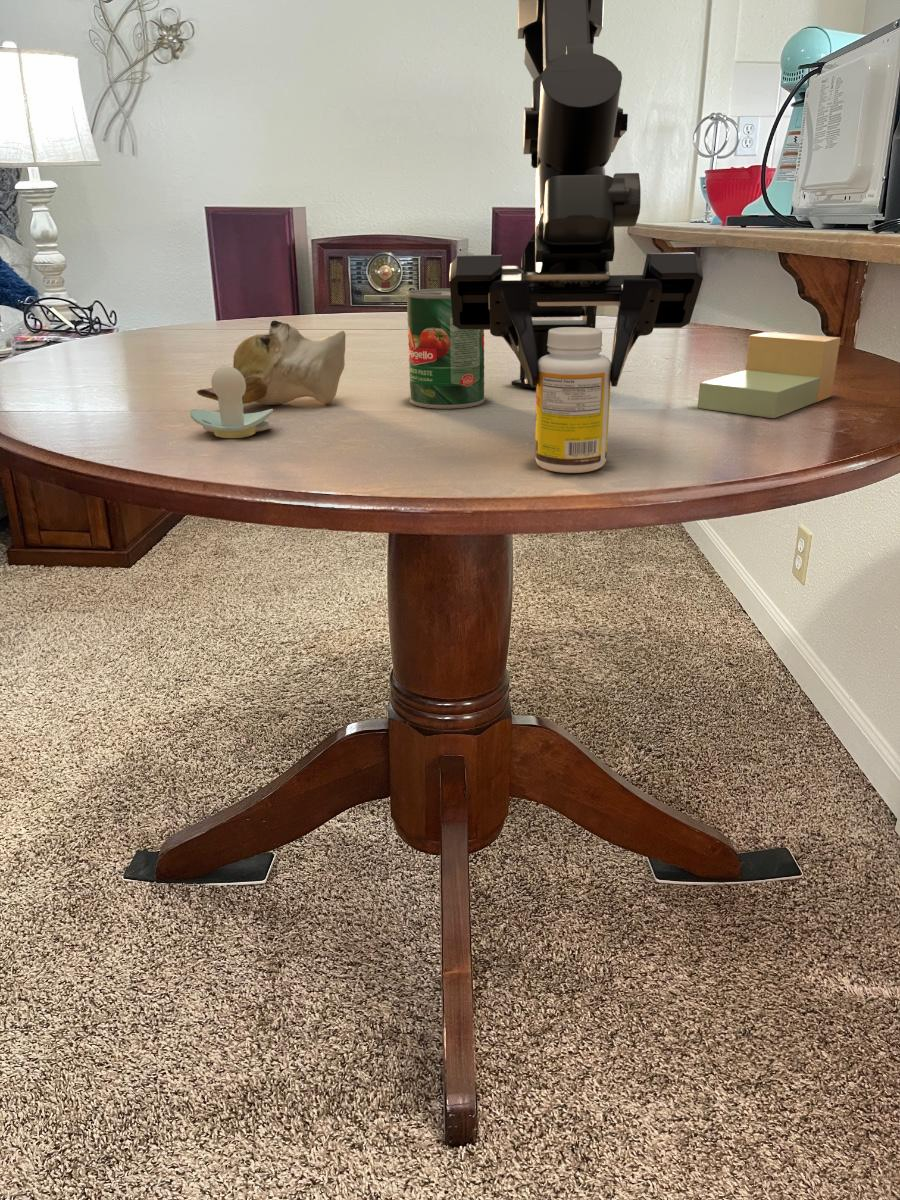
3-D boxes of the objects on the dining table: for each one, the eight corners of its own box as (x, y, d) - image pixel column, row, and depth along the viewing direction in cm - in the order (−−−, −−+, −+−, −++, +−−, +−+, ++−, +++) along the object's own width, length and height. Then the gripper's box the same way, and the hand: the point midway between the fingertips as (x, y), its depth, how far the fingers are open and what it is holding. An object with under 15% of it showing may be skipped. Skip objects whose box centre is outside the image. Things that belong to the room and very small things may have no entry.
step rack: (697, 408, 89) (703, 346, 86) (758, 388, 98) (765, 331, 96) (774, 418, 84) (783, 353, 81) (831, 396, 93) (840, 337, 91)
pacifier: (205, 428, 84) (187, 441, 78) (198, 360, 82) (179, 368, 76) (282, 427, 84) (270, 440, 78) (277, 359, 82) (264, 367, 76)
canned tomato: (497, 397, 95) (497, 289, 91) (463, 411, 89) (462, 295, 84) (432, 392, 98) (430, 287, 94) (395, 405, 92) (391, 293, 88)
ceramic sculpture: (339, 320, 85) (183, 332, 85) (349, 410, 89) (200, 422, 89) (346, 310, 95) (207, 321, 95) (356, 391, 99) (221, 402, 99)
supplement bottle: (560, 453, 73) (564, 323, 69) (619, 463, 70) (628, 328, 65) (519, 467, 69) (522, 331, 65) (580, 479, 66) (587, 336, 62)
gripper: (449, 136, 64) (441, 311, 58) (711, 130, 63) (729, 309, 57) (456, 249, 74) (450, 407, 69) (681, 246, 73) (694, 406, 68)
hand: (574, 383), depth 65 cm, fingers closed on supplement bottle, 5 cm apart
